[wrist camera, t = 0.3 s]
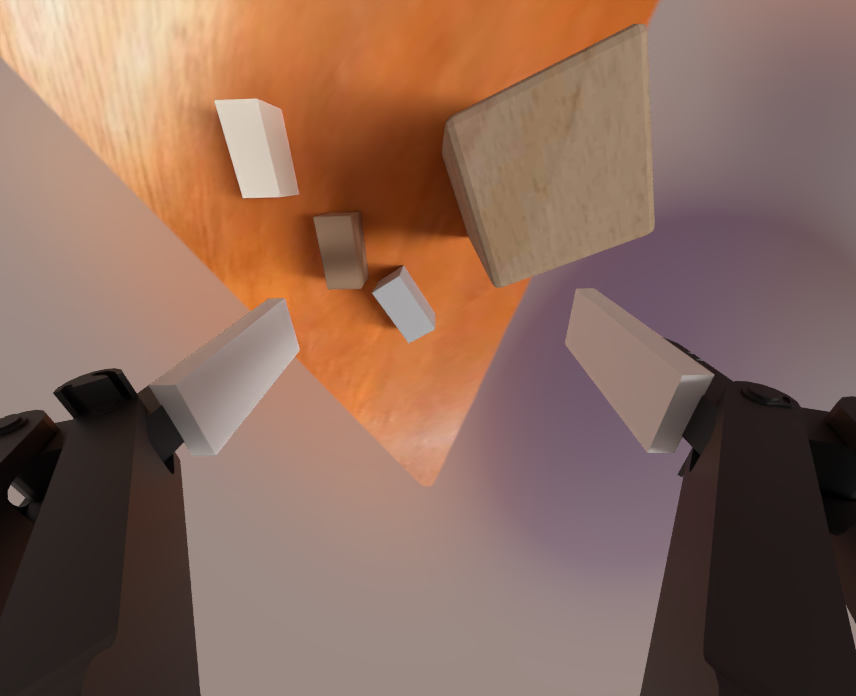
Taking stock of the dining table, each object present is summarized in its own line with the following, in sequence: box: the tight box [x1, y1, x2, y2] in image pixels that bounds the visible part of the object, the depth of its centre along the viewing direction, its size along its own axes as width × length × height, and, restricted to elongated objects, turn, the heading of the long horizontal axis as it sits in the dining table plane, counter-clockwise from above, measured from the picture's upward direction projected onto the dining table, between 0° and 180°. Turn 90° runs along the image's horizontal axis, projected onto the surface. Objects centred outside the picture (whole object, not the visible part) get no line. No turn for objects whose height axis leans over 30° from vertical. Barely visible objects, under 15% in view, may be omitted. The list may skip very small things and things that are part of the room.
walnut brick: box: [313, 211, 369, 289], centre depth 36 cm, size 8×4×5 cm, turn 2°
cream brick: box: [214, 99, 299, 198], centre depth 32 cm, size 8×4×5 cm, turn 2°
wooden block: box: [442, 24, 655, 287], centre depth 25 cm, size 10×10×20 cm
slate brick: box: [372, 265, 435, 343], centre depth 39 cm, size 8×4×5 cm, turn 32°
